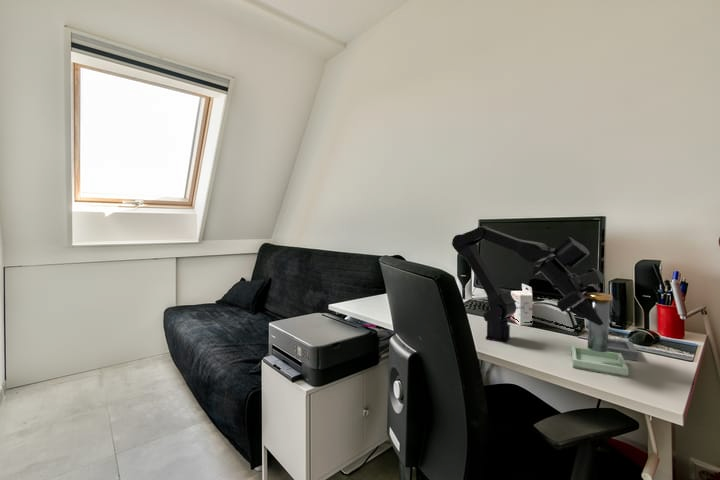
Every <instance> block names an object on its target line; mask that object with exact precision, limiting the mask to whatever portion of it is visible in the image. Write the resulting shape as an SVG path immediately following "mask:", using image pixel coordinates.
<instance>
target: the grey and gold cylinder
mask: <svg viewBox="0 0 720 480" xmlns="http://www.w3.org/2000/svg"><path fill="white" fill-rule="evenodd" d="M588 297H590V306H591V307H592V308H593V310H594V311H595V312H596V314H597V315H598V316H599V317H600V319H601V320H602V322H603V324H602V325H597V324H595V323H593V322H591V321H589V320H588V331H587V348H588V349H590V350H593V351H597V352H607V351H608V339H609V325H610V324H609V323H610V303H611V301H613V295H611V294H608V293H603V292H597V293H594V292H590V293H587V298H588Z"/></svg>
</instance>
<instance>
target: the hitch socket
mask: <svg viewBox="0 0 720 480" xmlns="http://www.w3.org/2000/svg"><path fill="white" fill-rule="evenodd" d="M607 352H614V353H621V354H622V356H623V359H624V360H626V361H628V360H629V361H636V362H638V355H639V354H638V351H637V349H636V347H635V345H634V344H633V341H626V340H620V339H613V338H608V351H607Z"/></svg>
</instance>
